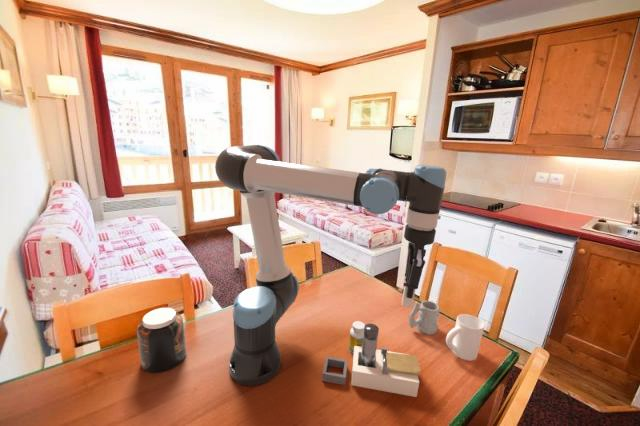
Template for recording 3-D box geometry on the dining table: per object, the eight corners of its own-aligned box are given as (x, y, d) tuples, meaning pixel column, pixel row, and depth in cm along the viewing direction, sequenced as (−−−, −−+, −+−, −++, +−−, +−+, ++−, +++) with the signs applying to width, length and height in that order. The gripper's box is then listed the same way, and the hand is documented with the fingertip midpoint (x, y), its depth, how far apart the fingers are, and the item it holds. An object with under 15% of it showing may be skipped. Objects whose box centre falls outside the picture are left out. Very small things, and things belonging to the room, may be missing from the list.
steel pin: (359, 377, 83) (364, 331, 79) (359, 367, 87) (364, 322, 82) (373, 380, 82) (378, 333, 78) (372, 369, 86) (378, 324, 82)
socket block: (351, 385, 80) (353, 365, 78) (353, 358, 90) (354, 340, 88) (416, 397, 78) (420, 377, 76) (411, 368, 87) (414, 350, 85)
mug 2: (435, 346, 97) (441, 316, 94) (464, 341, 100) (471, 312, 97) (451, 364, 90) (458, 332, 86) (482, 358, 93) (490, 327, 89)
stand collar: (322, 380, 81) (322, 373, 81) (325, 363, 88) (326, 356, 87) (345, 384, 80) (345, 377, 80) (346, 366, 87) (347, 360, 86)
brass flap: (383, 370, 80) (383, 367, 79) (382, 354, 85) (382, 351, 85) (420, 374, 78) (420, 371, 78) (416, 358, 84) (417, 355, 83)
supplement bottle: (357, 341, 97) (359, 317, 95) (368, 351, 93) (370, 326, 91) (345, 347, 94) (347, 322, 92) (355, 358, 90) (358, 332, 88)
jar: (152, 380, 78) (146, 335, 74) (135, 359, 85) (128, 316, 81) (193, 356, 88) (189, 314, 84) (174, 339, 94) (170, 299, 90)
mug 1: (441, 333, 104) (447, 305, 100) (413, 338, 101) (418, 308, 97) (428, 320, 111) (433, 293, 108) (401, 324, 108) (406, 296, 104)
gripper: (441, 236, 66) (424, 322, 73) (431, 220, 79) (417, 295, 85) (408, 232, 68) (394, 316, 74) (403, 217, 80) (392, 291, 86)
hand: (406, 305), depth 80 cm, fingers closed
